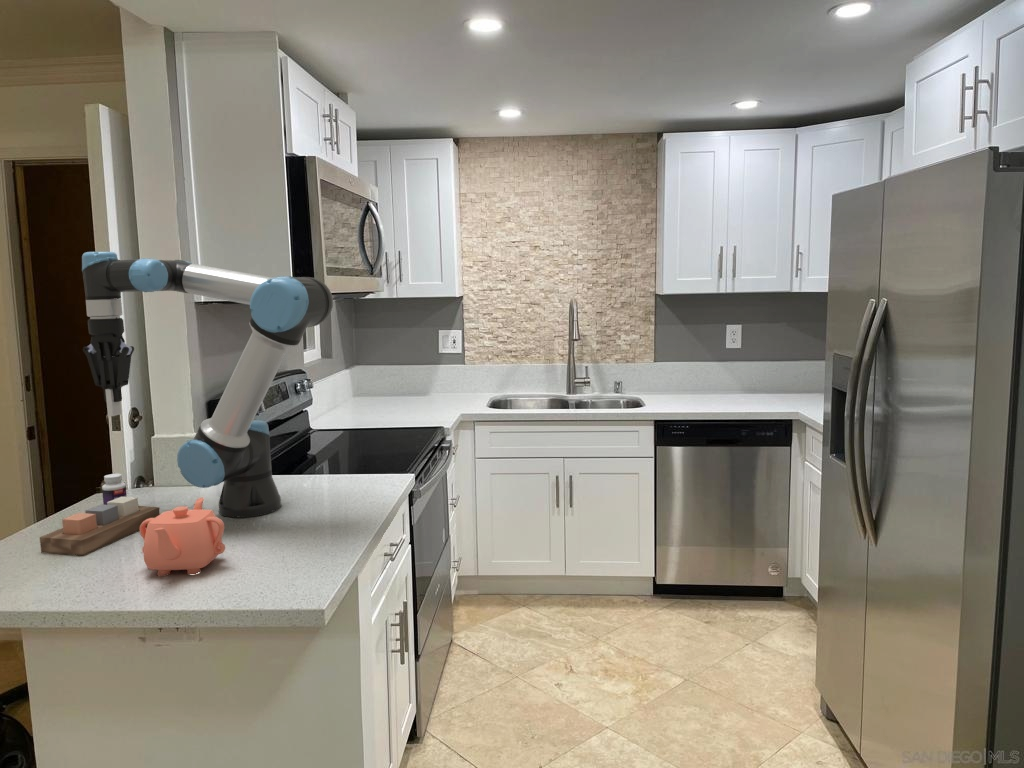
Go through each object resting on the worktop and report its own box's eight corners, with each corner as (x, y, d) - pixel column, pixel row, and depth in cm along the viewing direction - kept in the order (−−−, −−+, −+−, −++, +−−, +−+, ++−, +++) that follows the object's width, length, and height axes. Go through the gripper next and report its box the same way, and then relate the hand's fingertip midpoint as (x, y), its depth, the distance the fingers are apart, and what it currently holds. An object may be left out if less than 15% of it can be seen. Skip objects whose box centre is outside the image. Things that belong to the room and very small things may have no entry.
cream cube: (139, 517, 183) (137, 497, 182) (125, 523, 179) (123, 503, 178) (123, 516, 184) (121, 496, 183) (109, 522, 180) (107, 502, 179)
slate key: (119, 526, 177) (117, 505, 176) (104, 532, 172) (102, 511, 172) (103, 525, 178) (100, 504, 177) (87, 531, 173) (85, 510, 173)
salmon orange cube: (97, 535, 170) (95, 514, 170) (81, 542, 166) (79, 520, 165) (80, 534, 172) (78, 512, 171) (64, 541, 167) (62, 519, 166)
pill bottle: (118, 516, 190) (114, 478, 189) (99, 515, 191) (95, 477, 190) (132, 509, 195) (129, 473, 194) (114, 508, 197) (111, 472, 195)
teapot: (160, 589, 144) (154, 525, 142) (133, 566, 156) (128, 507, 154) (237, 568, 154) (232, 508, 152) (206, 547, 166) (202, 492, 164)
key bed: (160, 521, 185) (159, 507, 185) (82, 556, 162) (81, 540, 162) (122, 518, 188) (121, 504, 188) (41, 552, 165) (39, 537, 165)
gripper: (139, 316, 182) (148, 412, 185) (94, 316, 185) (104, 411, 188) (116, 318, 175) (125, 418, 178) (70, 318, 178) (80, 417, 181)
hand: (114, 414), depth 183 cm, fingers closed
